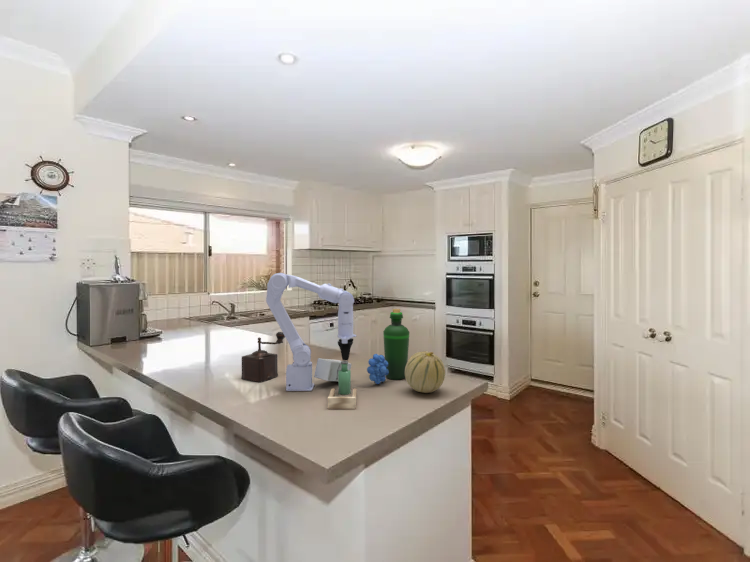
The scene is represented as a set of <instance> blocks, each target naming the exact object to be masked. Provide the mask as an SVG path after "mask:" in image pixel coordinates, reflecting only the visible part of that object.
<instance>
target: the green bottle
mask: <svg viewBox="0 0 750 562" xmlns="http://www.w3.org/2000/svg"><path fill="white" fill-rule="evenodd" d="M340 361H341V370H339V371H338V381H337V382H338V383H337V384H338V385H337V386H338V388H337V389H338V390H337V391H338V392H337V393H338V395H342V396H347V395H351V394H352V393H351V392H352V391H351V388H352V386H351V385H352V384H351V383H352V381H351V379H352V378H351V377H352V374H351V373H352V371H351V369H350V370H348V363H349V360H340Z"/></svg>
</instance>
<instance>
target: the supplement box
mask: <svg viewBox="0 0 750 562" xmlns="http://www.w3.org/2000/svg"><path fill="white" fill-rule="evenodd" d="M341 361H342V360H339V359H332V358H331V359H330V358H329V359H328V358H320V357H318V358H317V361H316V365H315V371H314V375H313V377H314V378H316V379H320V380H323V381H327V382H338V371H339V370H341ZM352 365H353V364H352V363H350V362H348V370H351V368H352Z"/></svg>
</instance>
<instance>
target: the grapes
mask: <svg viewBox="0 0 750 562" xmlns="http://www.w3.org/2000/svg"><path fill="white" fill-rule="evenodd" d="M367 364H368V365H369V366H368V367H367V368H366V372H367V373H368V374H369V375H368V379H369V380H370V381H371V382H374V384H376V385H379V384H381V383H384V382H386V380H387V377H386V375H388V373H389V371H388V369H387V368H386V367H388V362H387V361H386V360H385V355H384V354H378V353H374V354H373V355H372V358H370V359H369V358H368V363H367Z"/></svg>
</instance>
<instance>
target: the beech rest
mask: <svg viewBox="0 0 750 562" xmlns="http://www.w3.org/2000/svg"><path fill="white" fill-rule="evenodd" d="M357 393H358V391H357V388H353V389H352V395H351V396H336V389H335V388H330V391H329V394H328V397H327V409H328V410H341V409H343V410H352V409H353V410H356V408H357V407H356V406H357V396H358V394H357Z"/></svg>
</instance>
